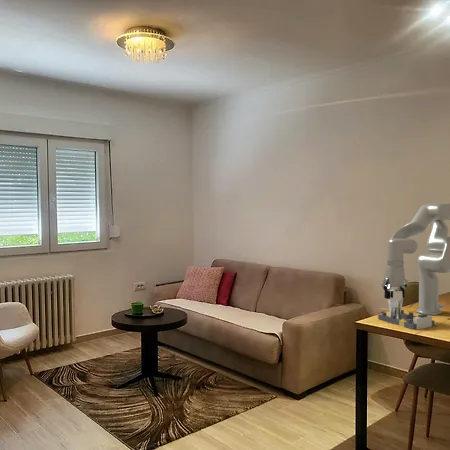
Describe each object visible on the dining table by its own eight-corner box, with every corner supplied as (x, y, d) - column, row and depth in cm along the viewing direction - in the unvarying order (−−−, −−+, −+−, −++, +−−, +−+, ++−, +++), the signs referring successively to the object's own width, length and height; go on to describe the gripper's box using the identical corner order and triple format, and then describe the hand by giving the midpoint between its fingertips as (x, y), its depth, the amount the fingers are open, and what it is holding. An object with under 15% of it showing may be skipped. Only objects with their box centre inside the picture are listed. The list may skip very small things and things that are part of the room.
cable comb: (398, 316, 233) (398, 304, 233) (434, 326, 214) (434, 313, 213) (378, 319, 227) (378, 307, 227) (413, 329, 207) (413, 316, 207)
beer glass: (388, 317, 231) (388, 288, 230) (402, 318, 228) (402, 289, 228) (387, 320, 224) (387, 291, 224) (402, 322, 222) (402, 291, 221)
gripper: (401, 262, 232) (401, 295, 233) (376, 263, 225) (375, 297, 225) (413, 264, 226) (412, 298, 226) (388, 265, 218) (387, 300, 218)
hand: (394, 297), depth 226 cm, fingers open, 9 cm apart
